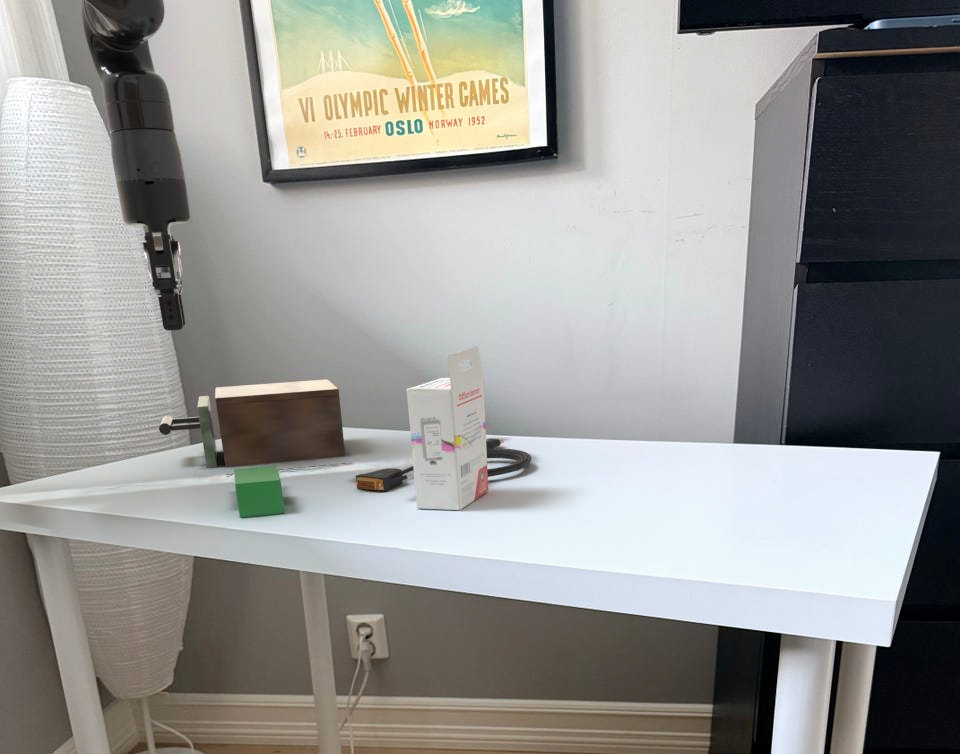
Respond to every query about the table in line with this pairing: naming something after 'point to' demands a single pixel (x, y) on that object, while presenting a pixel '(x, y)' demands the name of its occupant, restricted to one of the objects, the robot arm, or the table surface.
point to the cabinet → (280, 422)
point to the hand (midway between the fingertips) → (175, 328)
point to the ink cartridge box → (449, 435)
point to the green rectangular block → (258, 491)
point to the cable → (393, 476)
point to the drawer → (204, 424)
